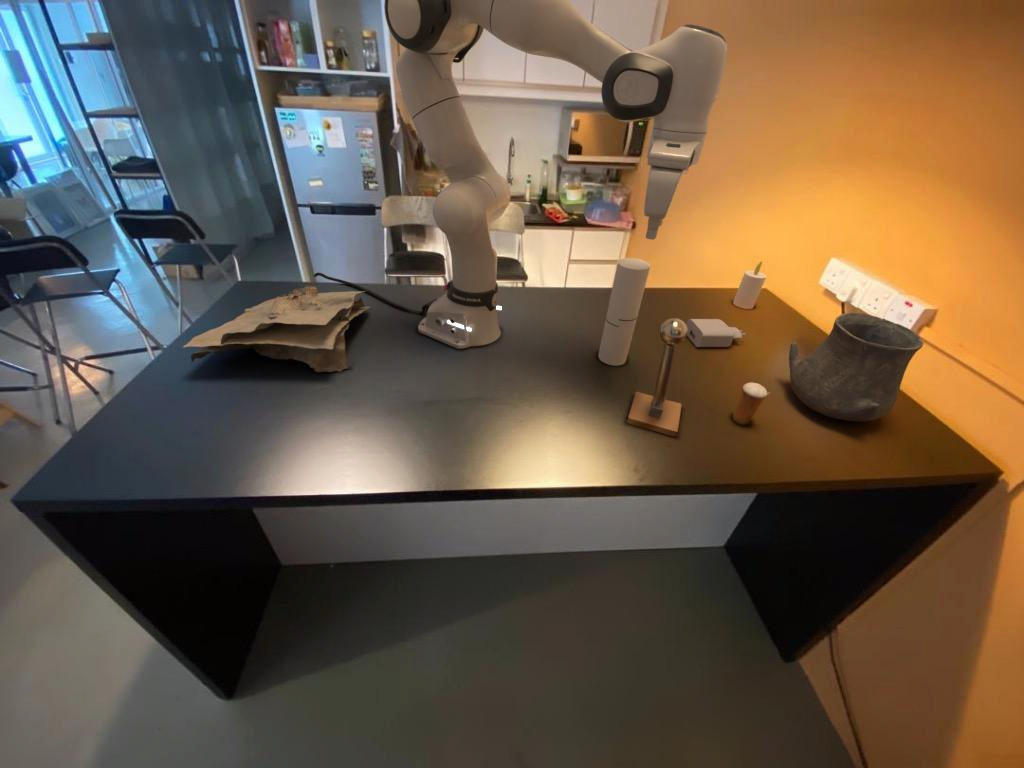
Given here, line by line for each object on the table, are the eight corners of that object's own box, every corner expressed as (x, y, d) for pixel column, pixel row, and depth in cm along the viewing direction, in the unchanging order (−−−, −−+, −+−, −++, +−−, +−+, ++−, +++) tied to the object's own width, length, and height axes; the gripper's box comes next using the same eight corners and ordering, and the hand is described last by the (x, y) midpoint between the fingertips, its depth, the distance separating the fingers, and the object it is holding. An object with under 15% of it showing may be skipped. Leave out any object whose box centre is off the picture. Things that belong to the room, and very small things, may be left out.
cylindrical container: (626, 367, 106) (651, 271, 91) (597, 362, 107) (617, 267, 92) (625, 352, 112) (649, 260, 97) (598, 348, 113) (617, 256, 98)
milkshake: (754, 431, 89) (774, 393, 83) (727, 421, 91) (745, 384, 85) (757, 419, 92) (776, 382, 86) (731, 410, 94) (748, 373, 88)
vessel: (915, 433, 91) (981, 355, 80) (825, 440, 88) (880, 360, 76) (838, 374, 109) (883, 303, 97) (761, 378, 105) (798, 305, 93)
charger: (749, 348, 117) (697, 348, 115) (732, 332, 124) (683, 331, 123) (756, 333, 114) (703, 333, 113) (738, 317, 121) (688, 317, 120)
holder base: (626, 423, 89) (630, 408, 87) (634, 396, 97) (638, 382, 94) (675, 437, 86) (681, 423, 84) (679, 408, 94) (684, 395, 92)
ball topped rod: (660, 323, 77) (689, 327, 76) (663, 312, 81) (691, 316, 79) (642, 413, 89) (667, 418, 88) (646, 400, 93) (669, 404, 91)
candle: (750, 301, 142) (769, 258, 133) (755, 310, 137) (774, 265, 128) (731, 298, 143) (748, 255, 134) (734, 307, 138) (752, 262, 129)
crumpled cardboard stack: (252, 282, 117) (367, 274, 117) (270, 337, 124) (378, 329, 124) (166, 322, 85) (323, 310, 86) (197, 393, 92) (342, 381, 93)
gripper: (662, 141, 81) (644, 215, 90) (647, 154, 66) (628, 243, 74) (696, 145, 80) (675, 220, 88) (690, 159, 64) (665, 250, 72)
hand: (653, 231), depth 81 cm, fingers open, 8 cm apart
